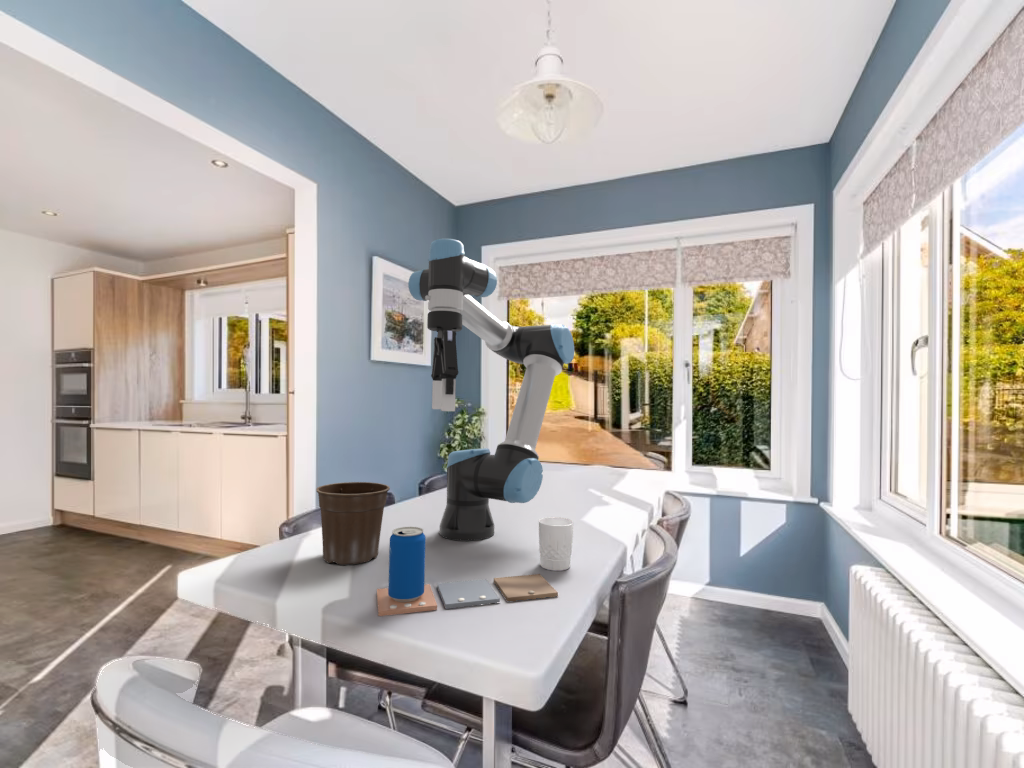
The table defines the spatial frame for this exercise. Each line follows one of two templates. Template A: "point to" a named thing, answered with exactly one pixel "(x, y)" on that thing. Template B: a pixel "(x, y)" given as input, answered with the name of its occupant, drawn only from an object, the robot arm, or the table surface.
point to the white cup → (555, 543)
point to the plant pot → (351, 520)
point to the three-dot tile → (405, 603)
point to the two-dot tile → (467, 593)
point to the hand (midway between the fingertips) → (442, 410)
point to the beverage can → (406, 564)
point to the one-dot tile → (524, 587)
